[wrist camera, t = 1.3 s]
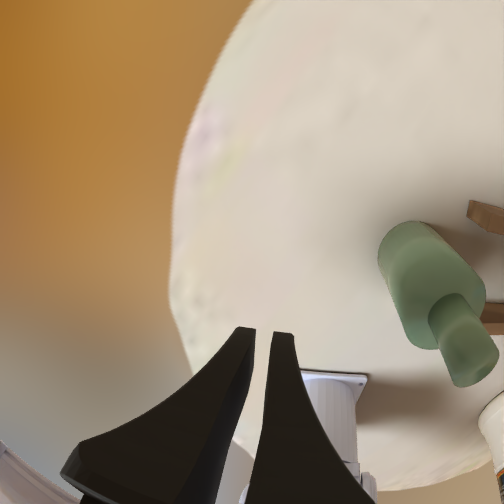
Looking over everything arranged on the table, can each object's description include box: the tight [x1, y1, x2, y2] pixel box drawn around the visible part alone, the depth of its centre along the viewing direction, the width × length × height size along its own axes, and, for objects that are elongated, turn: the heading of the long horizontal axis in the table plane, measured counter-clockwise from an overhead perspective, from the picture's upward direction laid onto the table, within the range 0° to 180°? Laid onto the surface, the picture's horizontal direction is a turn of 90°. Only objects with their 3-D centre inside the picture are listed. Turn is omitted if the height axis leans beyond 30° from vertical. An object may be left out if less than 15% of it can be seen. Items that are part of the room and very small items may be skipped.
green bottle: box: [378, 221, 499, 387], centre depth 13 cm, size 5×5×11 cm
